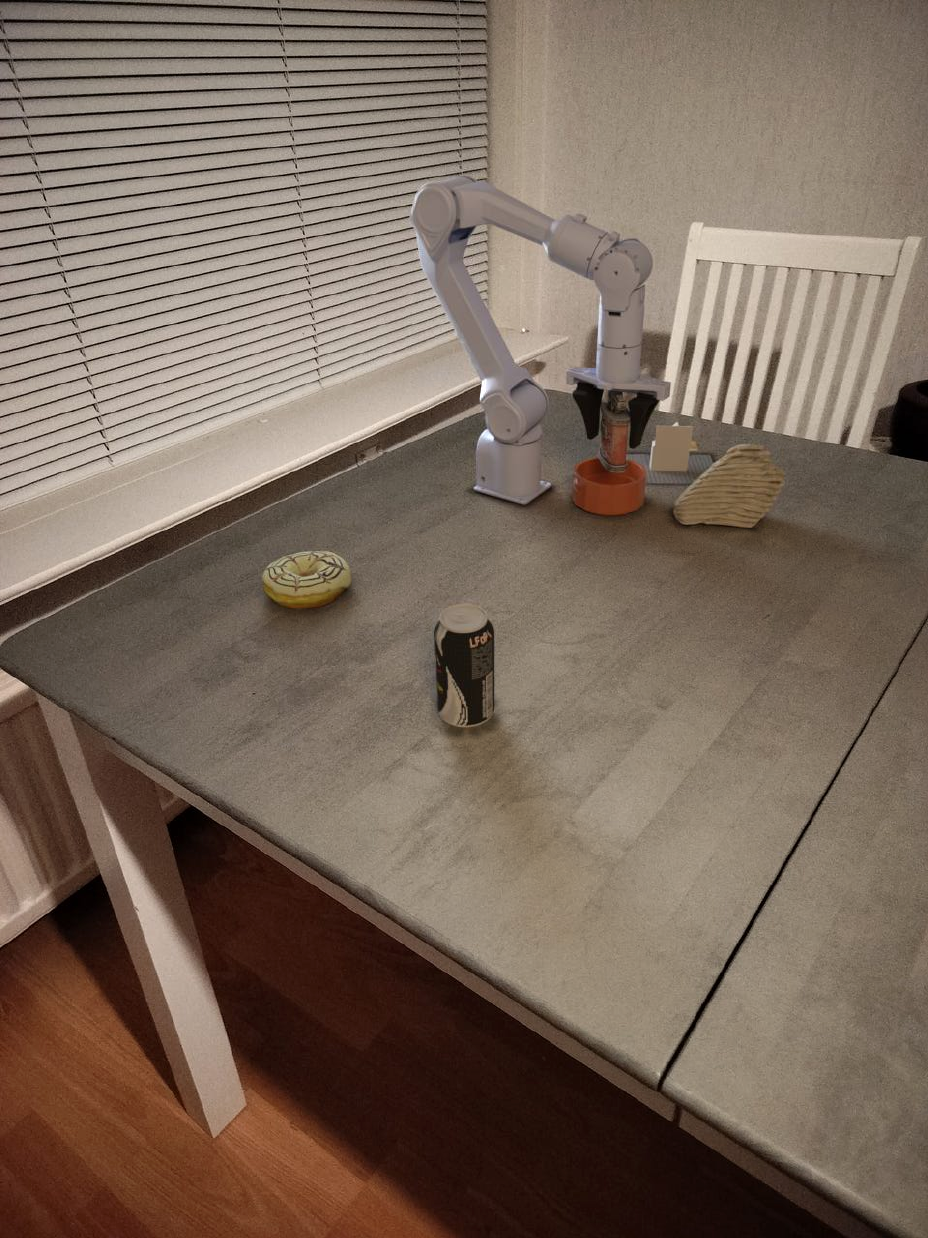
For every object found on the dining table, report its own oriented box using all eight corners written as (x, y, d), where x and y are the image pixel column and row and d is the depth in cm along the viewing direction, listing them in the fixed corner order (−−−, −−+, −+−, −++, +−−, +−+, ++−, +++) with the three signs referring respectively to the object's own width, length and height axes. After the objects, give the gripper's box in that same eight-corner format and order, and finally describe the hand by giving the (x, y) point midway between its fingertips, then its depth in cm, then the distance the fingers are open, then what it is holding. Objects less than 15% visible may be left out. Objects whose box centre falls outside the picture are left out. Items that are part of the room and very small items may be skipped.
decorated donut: (368, 591, 103) (365, 565, 101) (295, 625, 98) (290, 598, 95) (322, 561, 110) (318, 536, 108) (250, 590, 104) (245, 565, 102)
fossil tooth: (670, 516, 121) (776, 509, 119) (676, 535, 116) (787, 527, 114) (672, 441, 115) (783, 432, 113) (678, 457, 110) (795, 448, 108)
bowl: (559, 506, 122) (561, 475, 119) (593, 481, 129) (595, 451, 126) (623, 524, 117) (626, 492, 114) (654, 497, 124) (658, 466, 121)
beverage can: (439, 695, 86) (434, 599, 79) (494, 695, 86) (494, 599, 79) (436, 732, 81) (431, 633, 75) (494, 733, 81) (494, 633, 74)
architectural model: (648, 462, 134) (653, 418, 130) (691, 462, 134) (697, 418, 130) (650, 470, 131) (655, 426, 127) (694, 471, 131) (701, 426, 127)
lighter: (594, 450, 120) (597, 382, 114) (617, 449, 120) (621, 381, 115) (606, 473, 113) (611, 401, 108) (631, 471, 113) (636, 400, 108)
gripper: (555, 342, 109) (553, 440, 116) (657, 357, 101) (648, 461, 109) (582, 330, 113) (578, 425, 121) (681, 343, 106) (670, 444, 113)
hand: (613, 441), depth 115 cm, fingers closed on lighter, 6 cm apart
